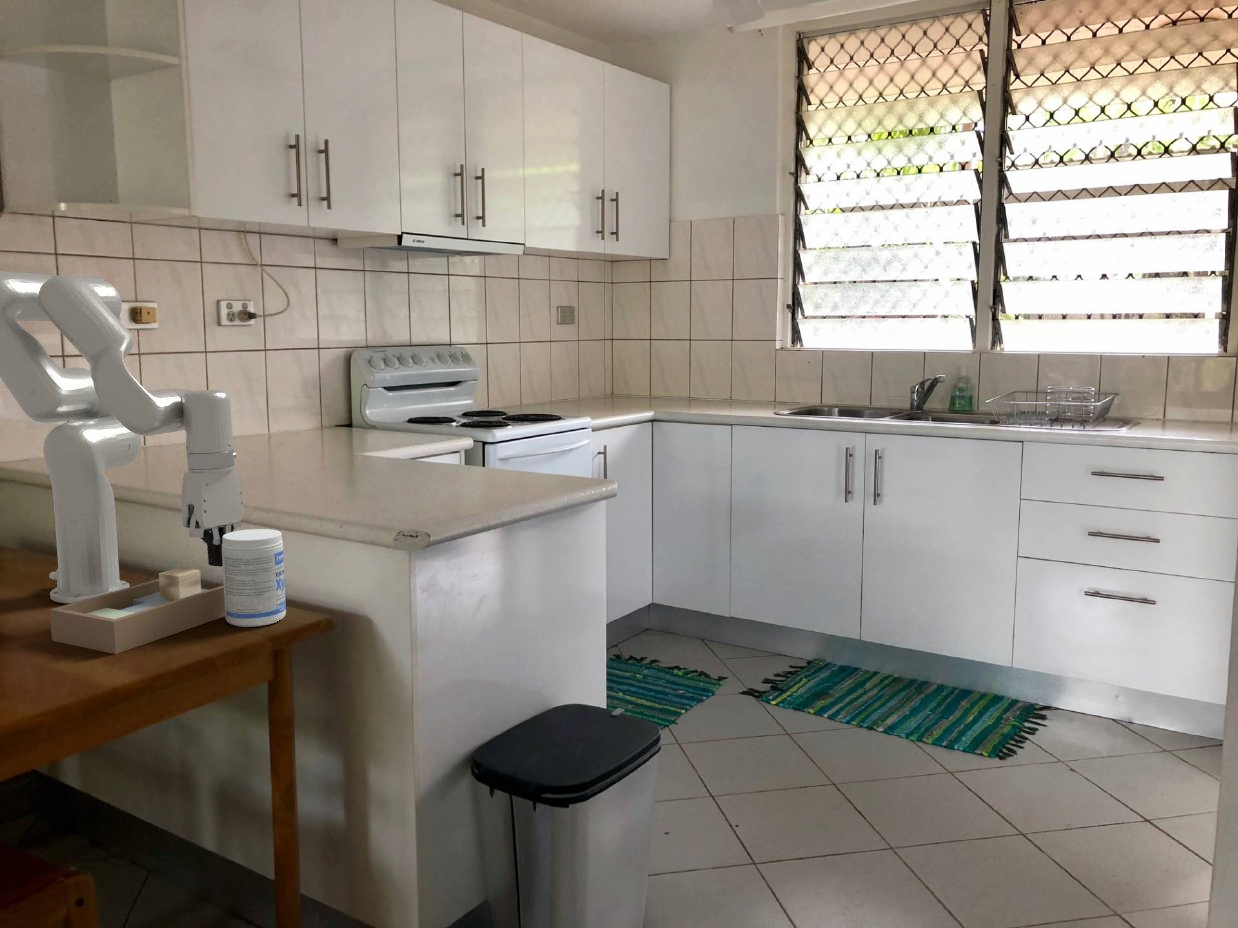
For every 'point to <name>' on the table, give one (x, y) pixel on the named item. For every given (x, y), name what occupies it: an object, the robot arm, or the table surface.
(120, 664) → the table surface
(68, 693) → the table surface
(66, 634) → the box
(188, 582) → the maple block
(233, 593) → the supplement tub
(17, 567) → the table surface
